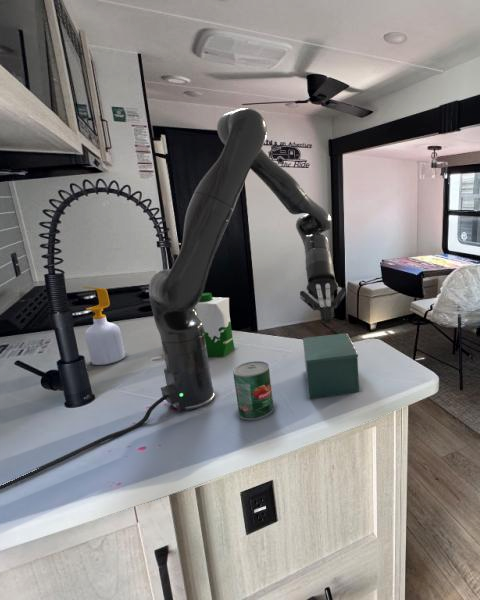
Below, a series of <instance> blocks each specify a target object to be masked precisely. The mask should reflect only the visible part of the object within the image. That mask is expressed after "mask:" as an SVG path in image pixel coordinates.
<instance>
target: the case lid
mask: <svg viewBox="0 0 480 600" xmlns="http://www.w3.org/2000/svg"><path fill="white" fill-rule="evenodd" d="M302 341H303V342H302V343H304V344H303V350H304V349H305V355H304V357H305V356H306V363H307V364H308V363H316V362H324V361H332V360H340V359H347V358H355V357H357V358H359V353H358V351H357V349H356V348H355V346H354V344H353V342H352V340H351V338H350V336H349V334H348V333H347V332H345V333H335V334H327V335H317V336H309V337H303V338H302Z"/></svg>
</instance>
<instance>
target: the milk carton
mask: <svg viewBox="0 0 480 600" xmlns="http://www.w3.org/2000/svg"><path fill="white" fill-rule="evenodd" d="M195 311H196V313H197V316H198V317H199V319H200V320H201V322H202V324H203V329H204V335H205V342H206V348H207V354H208V357H218V358H220V357H221V358H224V357H225V356H226V355H228V354H229V353H231V352H232V351H234V350H235V343H234V338H233V330H232V324H231V317H230V297H220V296H219V297H217V296H216V297H215V296H213V295H212V293H211V292H203V294H202V296H201V299H200V301H199V302H198V304H197V305H196V306H195Z"/></svg>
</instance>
